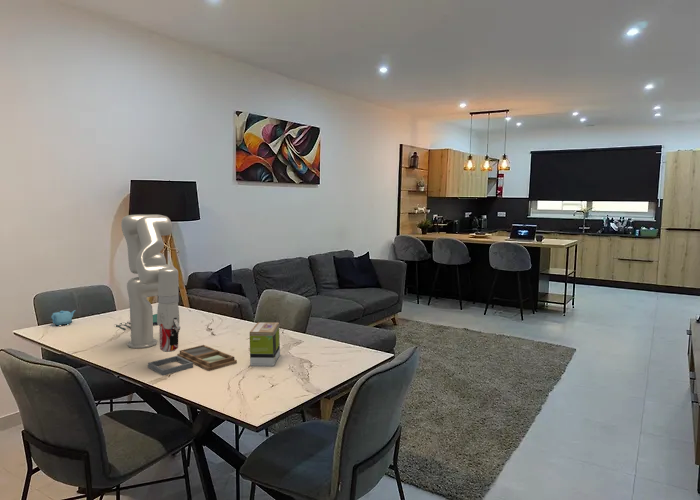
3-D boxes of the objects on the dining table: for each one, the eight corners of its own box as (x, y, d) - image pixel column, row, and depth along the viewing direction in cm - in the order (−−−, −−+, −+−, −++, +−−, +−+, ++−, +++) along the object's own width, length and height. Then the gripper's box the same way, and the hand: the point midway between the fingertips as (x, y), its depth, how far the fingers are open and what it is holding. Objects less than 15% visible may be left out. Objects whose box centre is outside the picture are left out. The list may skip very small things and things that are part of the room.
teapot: (74, 321, 265) (73, 307, 264) (78, 323, 261) (78, 309, 260) (49, 325, 256) (49, 311, 255) (53, 327, 252) (53, 313, 251)
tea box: (257, 354, 212) (257, 321, 211) (280, 355, 212) (280, 321, 211) (249, 366, 197) (249, 330, 196) (274, 366, 197) (273, 331, 196)
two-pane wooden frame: (177, 356, 208) (177, 350, 208) (204, 350, 217) (204, 344, 217) (209, 371, 191) (208, 364, 191) (236, 363, 201) (236, 356, 200)
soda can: (172, 353, 191) (171, 324, 189) (156, 351, 192) (155, 322, 190) (181, 348, 197) (181, 319, 196) (166, 346, 199) (165, 317, 197)
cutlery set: (180, 321, 267) (180, 317, 267) (124, 332, 246) (124, 328, 246) (165, 315, 281) (164, 311, 281) (110, 325, 260) (110, 321, 260)
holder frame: (148, 367, 194) (147, 362, 194) (177, 360, 203) (177, 355, 203) (163, 375, 186) (163, 370, 186) (193, 367, 195) (193, 362, 195)
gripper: (149, 296, 195) (150, 339, 197) (170, 304, 183) (171, 350, 186) (166, 293, 200) (167, 335, 203) (188, 301, 189) (189, 345, 191)
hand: (169, 342), depth 194 cm, fingers closed on soda can, 6 cm apart
